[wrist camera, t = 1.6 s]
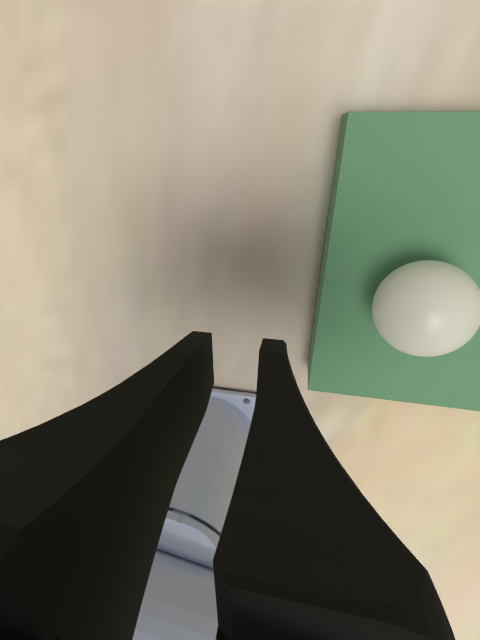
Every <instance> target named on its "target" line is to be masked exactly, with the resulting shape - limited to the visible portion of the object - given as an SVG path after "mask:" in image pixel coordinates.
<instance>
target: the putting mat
mask: <svg viewBox="0 0 480 640" xmlns="http://www.w3.org/2000/svg"><path fill="white" fill-rule="evenodd" d="M422 260H436V261H442V262H446V263H449V264H452V265H454V266H457V267H458V268H460V269H462V270H463V271H465V272H466V273H467V274H468V275H470V277H471V278H472V279H473V280H474V281H475V282H476V284H477V285H478V287H479V289H480V111H460V112H348V113H346V114H343V115H342V122H341V129H340V136H339V143H338V151H337V158H336V165H335V172H334V179H333V187H332V194H331V201H330V208H329V215H328V223H327V230H326V237H325V244H324V251H323V259H322V266H321V273H320V280H319V287H318V295H317V302H316V309H315V316H314V323H313V331H312V338H311V345H310V352H309V359H308V390H313V391H321V392H329V393H337V394H345V395H353V396H361V397H369V398H377V399H385V400H394V401H402V402H410V403H418V404H426V405H434V406H442V407H450V408H458V409H466V410H474V411H480V326H479V328H478V330H477V332H476V333H475V334H474V336H473V337H472V338H471V339H470V340H469V341H468V342H467V343H466V344H465V345H463V346H462V347H460V348H458V349H457V350H455V351H453V352H450V353H447V354H444V355H440V356H434V357H420V356H413V355H410V354H407V353H404V352H402V351H399V350H397V349H396V348H394V347H393V346H391V345H390V344H389V343H387V342H386V341H385V340H384V339H383V337H382V336H381V335H380V333H379V332H378V330H377V328H376V326H375V323H374V320H373V315H372V303H373V298H374V295H375V293H376V291H377V288H378V287H379V285H380V284H381V282H382V281H383V280H384V279H385V278H386V277H387V276H388V275H389V274H390V273H391V272H393V271H394V270H396V269H397V268H399V267H401V266H403V265H405V264H408V263H411V262H416V261H422Z"/></svg>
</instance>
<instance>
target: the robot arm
mask: <svg viewBox="0 0 480 640" xmlns="http://www.w3.org/2000/svg"><path fill="white" fill-rule="evenodd" d="M213 384H214V372H213V352H212V333H206V332H197V331H193V332H191V333H190V334H188V335H187V336H186V337H184V338H183V339H182V340H181V341H179V342H178V343H177V344H175V345H174V346H173V347H171V348H170V349H169V350H168V351H166V352H165V353H163V354H162V355H161V356H159V357H158V358H157V359H155V360H154V361H153V362H151V363H150V364H149V365H147V366H146V367H144V368H143V369H141V370H140V371H138V372H137V373H135V374H134V375H132V376H131V377H129V378H128V379H126V380H125V381H123V382H122V383H120V384H118V385H117V386H115V387H113V388H112V389H110V390H108V391H107V392H105V393H103V394H101V395H99V396H98V397H96V398H94V399H92V400H90V401H88V402H87V403H85V404H83V405H81V406H79V407H77V408H74V409H72V410H70V411H68V412H66V413H64V414H62V415H60V416H58V417H55V418H53V419H51V420H49V421H47V422H45V423H43V424H40V425H38V426H36V427H33V428H31V429H28V430H26V431H24V432H21V433H19V434H16V435H14V436H11V437H9V438H6V439H3V440H1V441H0V640H455V637H454V634H453V631H452V628H451V626H450V623H449V621H448V618H447V616H446V613H445V611H444V608H443V606H442V603H441V600H440V598H439V596H438V594H437V591H436V589H435V587H434V584H433V582H432V580H431V578H430V575H429V573H428V571H427V570H426V569H425V567H424V566H423V565H422V564H421V563H420V562H419V561H418V560H417V559H416V557H415V556H414V555H413V554H412V553H411V552H410V551H409V550H408V548H407V547H406V546H405V545H404V544H403V543H402V542H401V541H400V539H399V538H398V537H397V536H396V535H395V533H394V532H393V531H392V530H391V529H390V528H389V526H388V525H387V524H386V523H385V522H384V521H383V519H382V518H381V517H380V516H379V514H378V513H377V512H376V511H375V509H374V508H373V507H372V506H371V504H370V503H369V502H368V501H367V499H366V498H365V497H364V496H363V494H362V493H361V492H360V490H359V489H358V487H357V486H356V485H355V483H354V482H353V480H352V479H351V478H350V476H349V475H348V473H347V472H346V471H345V469H344V468H343V467H342V465H341V464H340V462H339V461H338V460H337V458H336V457H335V455H334V453H333V452H332V450H331V449H330V447H329V446H328V444H327V442H326V441H325V439H324V437H323V436H322V434H321V432H320V431H319V429H318V427H317V425H316V424H315V422H314V420H313V418H312V416H311V414H310V412H309V410H308V408H307V406H306V404H305V402H304V400H303V398H302V395H301V393H300V391H299V388H298V386H297V383H296V380H295V378H294V375H293V372H292V369H291V366H290V362H289V359H288V354H287V348H286V343H285V342H284V341H283V340H275V339H265V338H263V341H262V344H261V347H260V350H259V364H258V378H257V392H256V394H252V393H245V392H237V391H229V390H221V389H214V388H213ZM245 399H249V400H245Z"/></svg>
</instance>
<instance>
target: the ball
mask: <svg viewBox="0 0 480 640" xmlns="http://www.w3.org/2000/svg"><path fill="white" fill-rule="evenodd" d="M372 315H373V320H374V323H375V326H376V328H377V330H378V332H379V333H380V335H381V336H382V337H383V339H384V340H385V341H386V342H387V343H389V344H390V345H391V346H393V347H394V348H396V349H397V350H399V351H402V352H404V353H407V354H410V355H413V356H420V357H434V356H440V355H444V354H447V353H450V352H453V351H455V350H457V349H458V348H460V347H462V346H463V345H465V344H466V343H467V342H468V341H469V340H470V339H471V338H472V337H473V336H474V334H475V333H476V332H477V330H478V328H479V326H480V289H479V287H478V285H477V284H476V282H475V281H474V280H473V279H472V278H471V277H470V275H468V274H467V273H466V272H465V271H463V270H462V269H460V268H458V267H457V266H454V265H452V264H449V263H446V262H442V261H436V260H422V261H416V262H411V263H408V264H405V265H403V266H401V267H399V268H397V269H396V270H394V271H393V272H391V273H390V274H389V275H388V276H387V277H386V278H385V279H384V280H383V281H382V282H381V284H380V285H379V287H378V288H377V291H376V293H375V295H374V298H373V303H372Z"/></svg>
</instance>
